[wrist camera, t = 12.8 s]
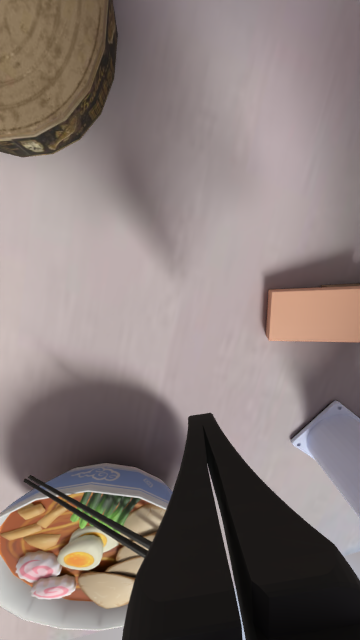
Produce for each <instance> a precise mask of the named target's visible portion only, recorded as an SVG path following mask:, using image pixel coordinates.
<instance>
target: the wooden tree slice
mask: <svg viewBox="0 0 360 640" xmlns="http://www.w3.org/2000/svg"><path fill="white" fill-rule="evenodd" d="M117 37H118V34H117V28H116V21H115V14H114V8H113V1H112V0H0V152H3V153H7V154H11V155H15V156H19V157H29V156H39V155H48V154H54V153H56V152H58V151H60V150H61V149H63V148H65V147H67V146H69V145H71V144H72V143H74V142H76V141H78V140H80V139H81V138H82V136H83V135H84V134H85V133H86V131H87V130H88V129H89V128H90V127H91V125H92V124H93V123H94V122H95V121H96V119H97V118H98V117H99V116H100V114H101V112H102V109H103V107H104V104H105V101H106V99H107V96H108V93H109V91H110V88H111V85H112V83H113V80H114V72H115V61H116V49H117Z"/></svg>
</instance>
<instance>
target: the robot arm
mask: <svg viewBox="0 0 360 640" xmlns="http://www.w3.org/2000/svg"><path fill="white" fill-rule="evenodd" d="M291 443H292V444H293V445H294V446H295V447H297V448H298V449H300V450H301V451H303V452H304V453H306V454H307V455H309V456H310V457H312V458H313V459H315V460H316V461H317V462H318V464H319V465H320V466H321V468H322V469H323V470H324V472H325V473H326V474H327V476H328V477H329V478H330V480H331V481H332V482H333V484H334V485H335V486H336V488H337V489H338V490H339V492H340V493H341V494H342V496H343V497H344V498H345V500H346V501H347V502H348V504H349V505H350V506H351V508H352V509H353V510H354V511H355V513H356V514H357V515H358V517H359V518H360V418H358V417H357V416H356V415H355V414H353V413H352V412H351V411H350V410H348V409H347V408H346V407H345V406H343V405H342V404H341V403H340V402H338V401H334V402H332V403H331V404H330V405H329V406H328V407H327V408H326V409H325V410H323V411H322V412H321V413H320V414H319V415H318V416H317V417H316V418H315V419H314V420H312V421H311V422H310V423H309V424H308V425H307V426H306V427H305V428H304V429H302V430H301V431H300V432H299V433H298V434H297V435H296V436H295V437H294V438H293V439H292V440H291ZM207 464H208V467H207ZM208 468H209V471H210V475H211V479H212V482H213V486H214V490H215V494H216V497H217V501H218V505H219V508H220V512H221V516H222V521H223V525H224V530H225V535H226V540H227V545H228V550H229V555H230V560H231V565H232V570H233V576H234V581H235V586H236V590H237V596H238V601H239V606H240V612H241V617H242V622H243V626H244V632H245V638H246V640H360V580H359V579H358V577H357V576H356V574H355V573H354V571H353V570H352V568H351V567H350V565H349V564H348V562H347V561H346V560H345V558H344V557H343V555H342V554H341V553H340V551H339V550H338V549H337V547H336V546H335V545H334V544H333V543H332V542H331V541H329V540H328V539H327V538H326V537H324V536H323V535H322V534H321V533H319V532H318V531H317V530H316V529H314V528H313V527H312V526H311V525H310V524H308V523H307V522H306V521H305V520H304V519H303V518H301V517H300V516H299V515H298V514H297V513H296V512H295V511H293V510H292V509H291V508H290V507H289V506H288V505H287V504H286V503H285V502H284V501H283V500H281V499H280V498H279V497H278V496H277V495H276V494H275V493H274V492H273V491H272V490H271V489H270V488H269V487H268V486H267V485H266V484H265V483H264V482H263V481H262V480H261V479H260V478H259V477H258V476H257V475H256V473H255V472H254V471H253V470H252V469H251V468H250V467H249V466H248V465H247V463H246V462H245V461H244V460H243V459H242V457H241V456H240V455H239V454H238V452H237V451H236V450H235V448H234V447H233V446H232V444H231V443H230V442H229V440H228V439H227V438H226V436H225V435H224V433H223V432H222V430H221V429H220V427H219V425H218V424H217V422H216V420H215V418H214V416H213V414H211V413H207V414H200V415H193V416H189V417H188V433H187V440H186V445H185V451H184V455H183V459H182V463H181V467H180V471H179V474H178V477H177V481H176V484H175V487H174V490H173V493H172V495H171V498H170V501H169V504H168V506H167V509H166V511H165V514H164V516H163V519H162V521H161V523H160V526H159V528H158V530H157V532H156V535H155V537H154V539H153V541H152V544H151V546H150V548H149V550H148V552H147V554H146V556H145V558H144V560H143V562H142V564H141V566H140V568H139V570H138V572H137V574H136V577H135V581H134V584H133V588H132V591H131V595H130V599H129V603H128V607H127V612H126V618H125V623H124V629H123V637H122V640H242V627H241V620H240V616H239V611H238V606H237V601H236V596H235V591H234V586H233V582H232V578H231V573H230V569H229V565H228V560H227V556H226V551H225V547H224V542H223V538H222V533H221V529H220V524H219V520H218V515H217V511H216V506H215V501H214V497H213V492H212V487H211V482H210V477H209V473H208Z"/></svg>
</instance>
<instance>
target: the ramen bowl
mask: <svg viewBox="0 0 360 640" xmlns="http://www.w3.org/2000/svg"><path fill="white" fill-rule="evenodd" d="M28 478H30V479H31V480H33V481H35V482H36V483H38V484H40V486H37V485H36V484H34V483H32V482H30V481H29V480H27V479H25V480H24V482H25V483H27V484H29V485H30V486H32V487H33V488H34V489H33V490H31V491H30V492H28V493H27V494H25V495H24V496H22V497H21V498H19V499H18V500H16V501H15V502H13V503H12V504H11V505H10V506H8V507H7V508H6V509H5V510H4V511H2V512H1V513H0V607H1V608H3V609H5V610H7V611H8V612H10V613H12V614H13V615H15V616H17V617H19V618H20V619H22V620H25V621H29V622H34V623H38V624H42V625H46V626H50V627H54V628H58V629H70V630H98V631H101V630H107V629H112V628H117V627H124V623H125V618H126V612H127V607H128V603H129V599H130V595H131V591H132V588H133V584H134V581H135V577H136V574H137V572H138V570H139V568H140V566H141V564H142V562H143V560H144V558H145V556H146V554H147V552H148V550H149V548H150V546H151V544H152V541H153V539H154V537H155V535H156V532H157V530H158V528H159V526H160V523H161V521H162V519H163V516H164V514H165V511H166V509H167V506H168V504H169V501H170V498H171V495H172V493H173V492H172V491H171V490H170V489H169V488H168V486H167V485H166V484H165V483H164V482H163V481H162V480H161V479H159V478H157V477H155V476H153V475H151V474H149V473H147V472H145V471H143V470H140V469H138V468H136V467H131V466H124V465H117V464H110V463H102V464H96V465H90V466H84V467H77V468H73V469H72V470H70V471H68V472H66V473H64V474H62V475H60V476H58V477H56V478H54V479H52V480H50V481H48V482H46V483H44V482H42V481H40V480H38V479H37V478H35V477H33V476H31V475H30V476H29V477H28Z"/></svg>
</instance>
